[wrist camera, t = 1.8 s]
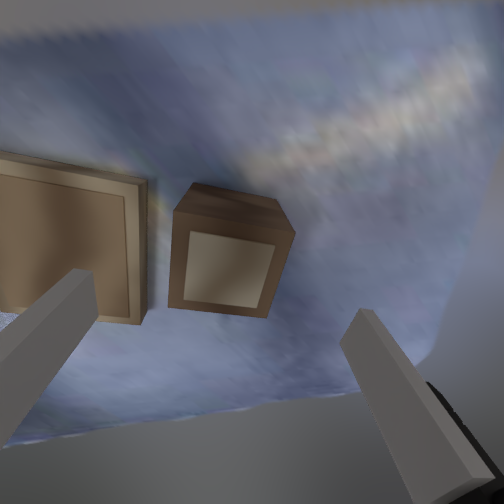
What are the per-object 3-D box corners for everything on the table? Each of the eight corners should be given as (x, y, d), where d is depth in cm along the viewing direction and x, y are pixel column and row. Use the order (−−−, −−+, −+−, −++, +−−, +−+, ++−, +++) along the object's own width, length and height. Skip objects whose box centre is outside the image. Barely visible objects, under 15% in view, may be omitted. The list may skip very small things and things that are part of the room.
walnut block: (186, 255, 22) (167, 309, 15) (193, 182, 18) (172, 211, 12) (257, 266, 23) (266, 319, 16) (276, 199, 19) (296, 233, 13)
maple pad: (19, 297, 22) (-1, 313, 20) (-33, 144, 16) (-69, 146, 14) (147, 311, 24) (139, 326, 22) (147, 179, 18) (137, 186, 16)
